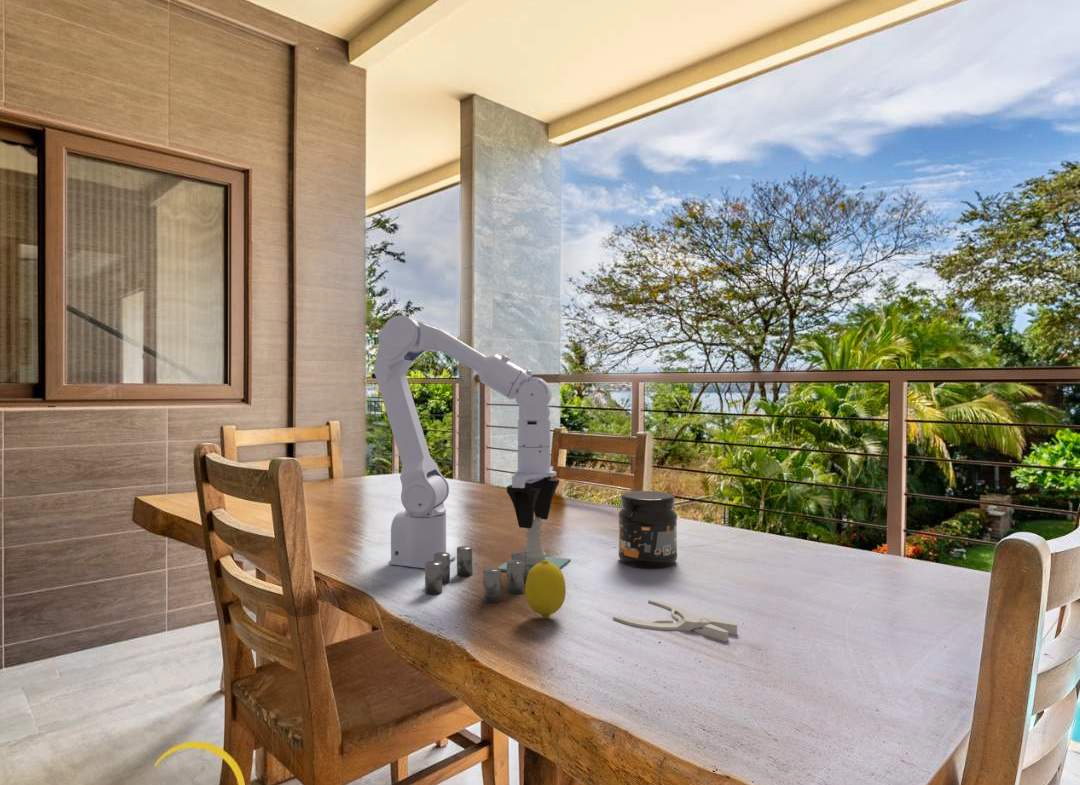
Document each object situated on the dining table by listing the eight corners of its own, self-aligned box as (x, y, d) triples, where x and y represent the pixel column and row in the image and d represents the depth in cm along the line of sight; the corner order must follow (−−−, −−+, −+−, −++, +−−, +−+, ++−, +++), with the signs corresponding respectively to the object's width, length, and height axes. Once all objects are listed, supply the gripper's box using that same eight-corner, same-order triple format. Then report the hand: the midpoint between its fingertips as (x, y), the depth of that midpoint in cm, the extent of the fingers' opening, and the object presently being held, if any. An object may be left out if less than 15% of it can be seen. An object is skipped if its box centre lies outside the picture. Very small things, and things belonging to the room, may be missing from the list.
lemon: (562, 627, 84) (561, 566, 84) (521, 624, 86) (521, 564, 86) (568, 612, 90) (568, 555, 90) (530, 609, 91) (529, 553, 91)
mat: (496, 570, 110) (496, 568, 110) (519, 556, 120) (519, 553, 120) (550, 576, 107) (550, 574, 107) (570, 561, 116) (570, 559, 116)
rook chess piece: (551, 562, 114) (551, 517, 114) (537, 568, 110) (537, 521, 110) (530, 558, 116) (530, 514, 116) (516, 564, 113) (516, 519, 112)
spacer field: (413, 592, 99) (413, 563, 99) (454, 570, 110) (453, 544, 110) (505, 605, 93) (505, 574, 93) (538, 580, 105) (538, 552, 105)
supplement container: (608, 556, 119) (608, 492, 119) (659, 551, 122) (659, 489, 122) (634, 572, 109) (634, 501, 109) (688, 566, 112) (688, 498, 112)
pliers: (650, 593, 95) (748, 617, 85) (650, 603, 95) (748, 629, 85) (611, 610, 87) (714, 639, 77) (611, 622, 87) (714, 652, 77)
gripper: (539, 450, 105) (539, 533, 105) (568, 443, 118) (568, 516, 118) (500, 449, 107) (500, 530, 107) (533, 442, 121) (533, 514, 121)
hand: (533, 523), depth 113 cm, fingers open, 7 cm apart
